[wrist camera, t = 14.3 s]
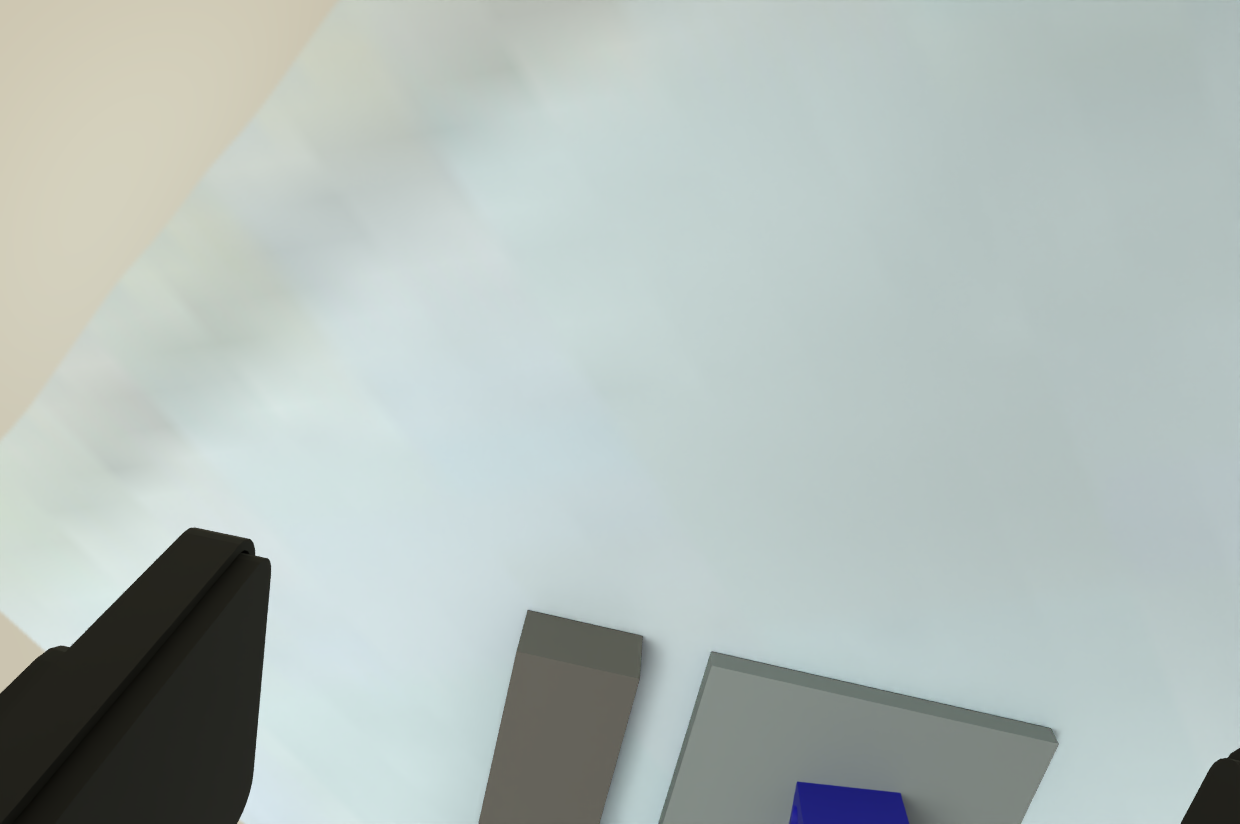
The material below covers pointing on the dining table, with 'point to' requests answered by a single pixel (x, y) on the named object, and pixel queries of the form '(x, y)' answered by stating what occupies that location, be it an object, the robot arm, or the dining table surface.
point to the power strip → (562, 722)
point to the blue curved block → (845, 805)
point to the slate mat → (845, 750)
